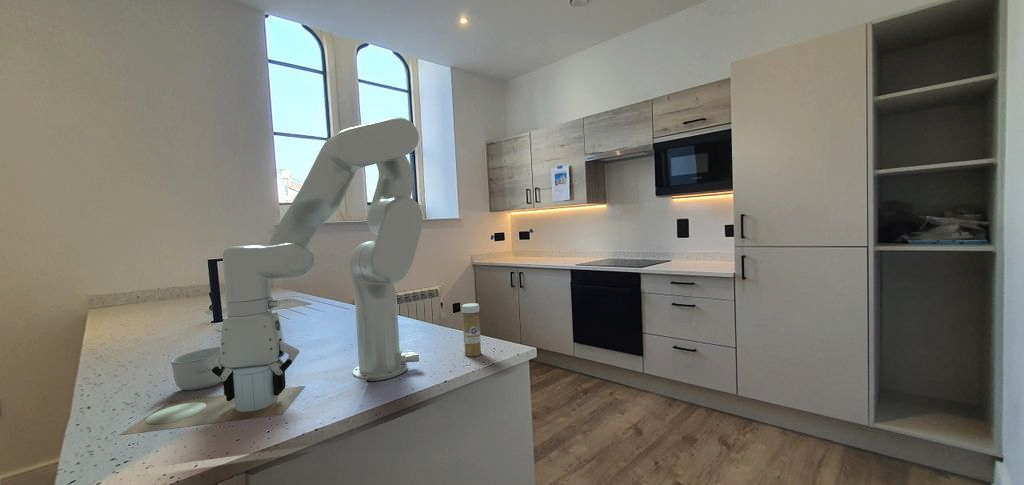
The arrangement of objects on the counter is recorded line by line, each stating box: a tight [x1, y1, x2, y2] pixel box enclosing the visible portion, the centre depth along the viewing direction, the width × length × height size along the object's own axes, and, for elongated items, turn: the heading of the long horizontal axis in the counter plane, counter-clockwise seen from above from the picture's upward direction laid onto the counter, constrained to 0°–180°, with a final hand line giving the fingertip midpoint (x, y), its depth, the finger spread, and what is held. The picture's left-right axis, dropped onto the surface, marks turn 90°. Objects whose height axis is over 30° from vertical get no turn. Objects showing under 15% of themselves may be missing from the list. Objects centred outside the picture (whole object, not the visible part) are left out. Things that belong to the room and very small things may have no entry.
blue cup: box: [233, 365, 278, 412], centre depth 80 cm, size 7×7×8 cm
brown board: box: [119, 385, 306, 436], centre depth 79 cm, size 26×14×3 cm, turn 101°
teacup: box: [170, 346, 223, 391], centre depth 95 cm, size 14×11×8 cm
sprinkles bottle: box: [461, 302, 482, 357], centre depth 107 cm, size 5×5×13 cm
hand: (255, 395), depth 80 cm, fingers open, 7 cm apart
